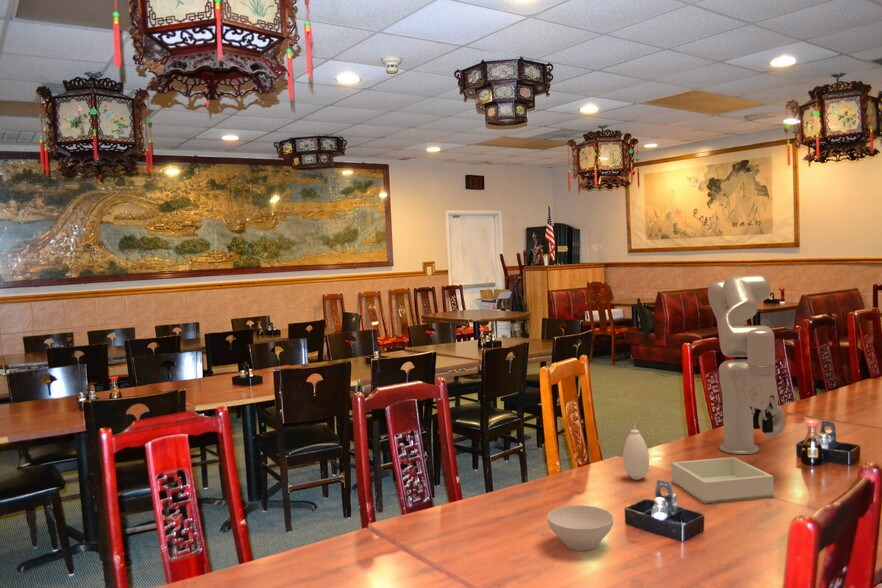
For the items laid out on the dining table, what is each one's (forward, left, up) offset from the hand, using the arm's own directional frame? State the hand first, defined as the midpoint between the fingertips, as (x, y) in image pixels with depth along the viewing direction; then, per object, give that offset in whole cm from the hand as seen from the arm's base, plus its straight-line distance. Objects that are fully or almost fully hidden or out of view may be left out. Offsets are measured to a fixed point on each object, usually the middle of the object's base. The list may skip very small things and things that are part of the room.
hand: (763, 429), depth 211 cm
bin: (+4, -17, -15) cm, 23 cm away
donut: (-1, +4, -3) cm, 5 cm away
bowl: (+32, -69, -15) cm, 77 cm away
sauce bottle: (-12, -36, -15) cm, 40 cm away
